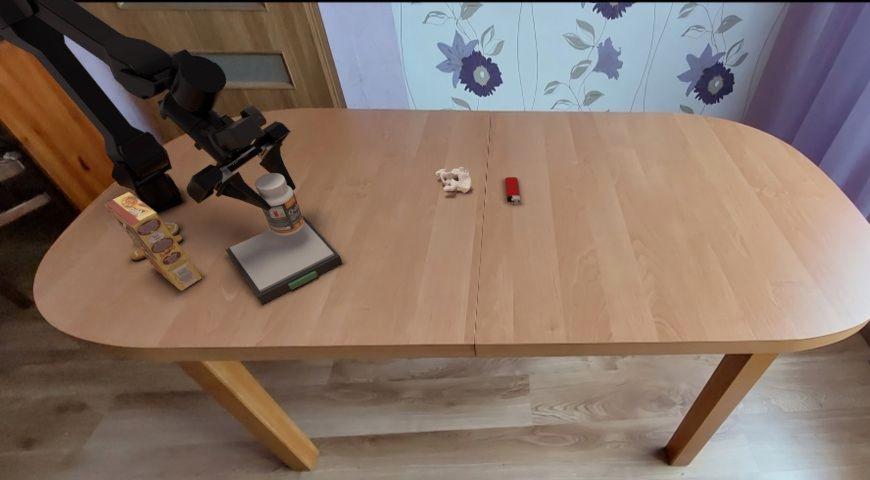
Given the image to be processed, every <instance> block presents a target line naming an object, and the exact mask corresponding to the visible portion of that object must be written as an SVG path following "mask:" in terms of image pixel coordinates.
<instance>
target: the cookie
mask: <svg viewBox="0 0 870 480" xmlns="http://www.w3.org/2000/svg"><path fill="white" fill-rule="evenodd" d="M164 224H165V225H166V227H167V228H168V230H169V231H170V232H171V234H172V235H173V237H174V238H175V240H176V241H177V243H178V244H180V243H181V242H182V241H183V237H182V235H178V233H179V232H180V227H179V225H178V224H177V223H176V222H164ZM129 257H130V259H131V260H132V261H139V260H143V259H144V258H146V256H145V255H144V254H143V253H142V252H141V250H140V249H139V248H138V249H137V250H135V251H134V252H132V253H131V254H130V256H129Z"/></svg>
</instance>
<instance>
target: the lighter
mask: <svg viewBox="0 0 870 480" xmlns="http://www.w3.org/2000/svg"><path fill="white" fill-rule="evenodd" d="M504 183H505V195H506V201H507V202H508V203H511V204H512V205H520V204H521V196H520V188H519V181H518V177H515V176H507V177H505V178H504Z"/></svg>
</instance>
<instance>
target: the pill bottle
mask: <svg viewBox="0 0 870 480" xmlns="http://www.w3.org/2000/svg"><path fill="white" fill-rule="evenodd" d="M254 186H255V188H256V192H257V193H258V194H259V195H260V196H261V197H262V198H263V199H264V200H265V201H266V202H267V203H268V204H269V205H270V206H271V209H270V210H269V211H267V210H264V209H262V208H261V209H262V212H263V214H264V216H265V219H266V221H267V223H268V226H269V229H271V230H272V231H273V232H274V233H275V234H278V235H291V234H294V233H296V232H297V231H299V230H300V229H301V228H302V227H303V225H304V219H303V216H304V215H303V214H302V211H301V209H300V206H299V203H298V201H297V197H296V194H295V192H294V190H292V188H291V187H289V186H288V185H287V183H286V180H285V178H284V176H283V175H281V174H278V173H269V172H268V173H266V174H263V175H261V176H259V177H257V179H256V180H255V182H254Z"/></svg>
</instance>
